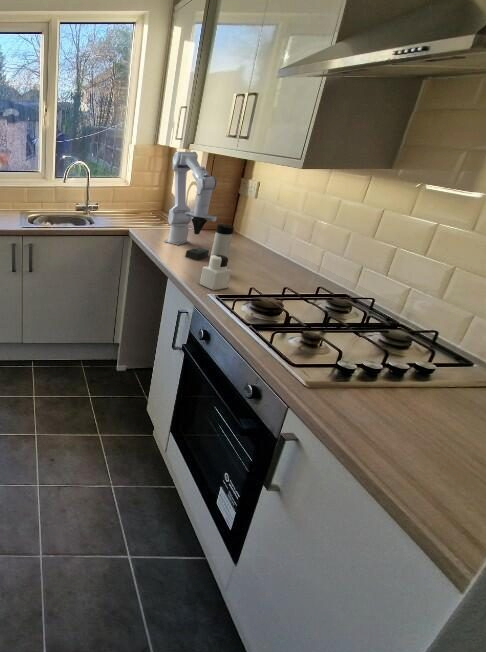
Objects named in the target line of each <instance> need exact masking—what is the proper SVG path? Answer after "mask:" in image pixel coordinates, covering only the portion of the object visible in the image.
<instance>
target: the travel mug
mask: <svg viewBox="0 0 486 652" xmlns="http://www.w3.org/2000/svg"><path fill="white" fill-rule="evenodd" d="M234 230H235V227H234V226H230V225H227V224H217V225H216V229H215V234H214V238H213V243H212V248H211V253H210V257H211V256H212V255H223V256H226V257H227V258H228V256H229V252H230V248H231V243H232V239H233V235H234Z"/></svg>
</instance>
